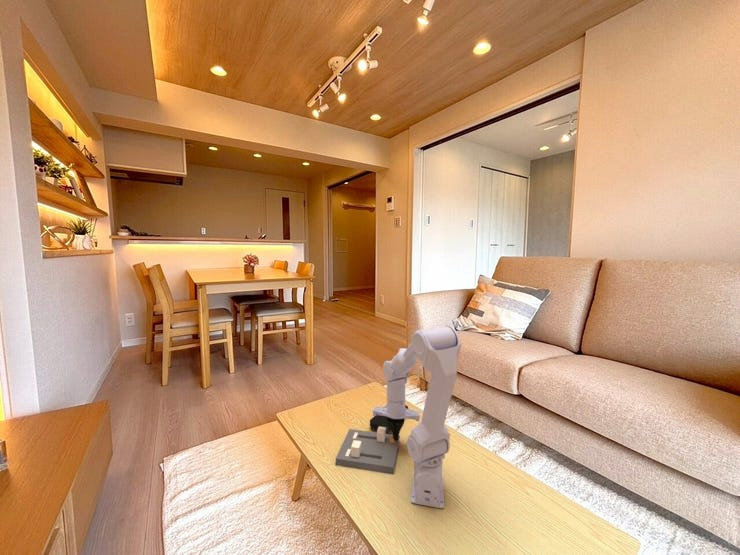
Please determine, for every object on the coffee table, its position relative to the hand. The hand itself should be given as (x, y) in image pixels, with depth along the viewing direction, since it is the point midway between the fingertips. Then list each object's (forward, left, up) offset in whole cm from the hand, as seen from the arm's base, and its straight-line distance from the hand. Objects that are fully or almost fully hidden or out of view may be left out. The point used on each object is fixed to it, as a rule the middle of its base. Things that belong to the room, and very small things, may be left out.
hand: (396, 438), depth 93 cm
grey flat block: (-4, +8, -3) cm, 9 cm away
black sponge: (+13, +4, -3) cm, 14 cm away
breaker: (-8, +11, -1) cm, 13 cm away
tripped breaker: (0, +5, -1) cm, 5 cm away
